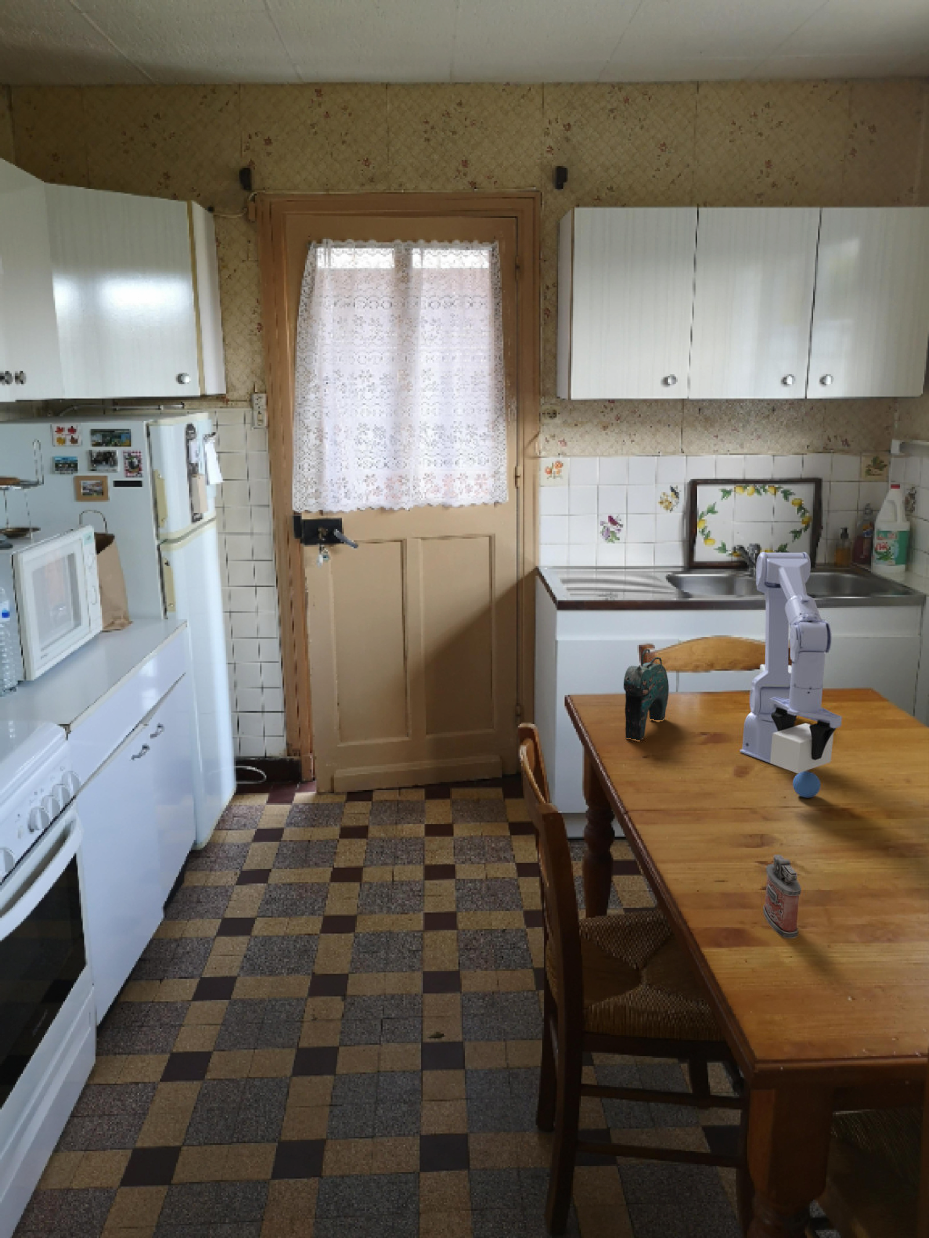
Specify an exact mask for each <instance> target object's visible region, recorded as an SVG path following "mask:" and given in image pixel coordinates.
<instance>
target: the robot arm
mask: <svg viewBox="0 0 929 1238" xmlns="http://www.w3.org/2000/svg"><path fill="white" fill-rule="evenodd" d="M755 567H756V571H755V581H756V582H755V585H756V590H757V591H759V592H760V593H763V596H764V600H765V644H764V645H765V647H764V649H765V651H764V653H765V654H764V655H765V657H764V658H765V659H764V664H765V671H763V672H762V673H761V674H760V673H759V674H758V675H756V676H755V677H754V678H753V679H752V681H751V684H750V691H749V708H750V713H748V714H747V716H746V718H745V720H744V723H743V733H742V735H743V736H742V748H741V749H739V752H740V753H742V754H744V755H747V756H750V757H752V758H755V759H757V760H760V761H763V762H766V763H768V764H771V763H770V758H771V746H772V733H775V732H778V731H782V730H785V729H788V728H791V727H795V724H796V719H797V716H799V717H802V718H804V719H808V720H811V721H815V722H816V723H813V724H810V726H809V728H810V731H811V737H812V751H811V756H812V759H813V760H817V759H820V758H821V757H822V754H823V751H824V749H825V746H826V744H827V742H828V740H829V738H830V737H831V735H832V734H833V735H834V732H835V731H836V729H838V728H841V727H842V718H843V717H842V715H838V714H836V713H833V712H832V711H830V710H828V709H826V708H824V707H822V699H823V687H824V677H825V676H824V674H825V665H826V664H825V663H826V662H825V661H826V654H828V653H829V652H830V650H831V646H832V637H833V636H832V629H831V626H830V623H829V622H828V621H827V620H826V619H825V618H824V619H823V618H821V615H820V612H819V610H818V606H817V603H816V601H815V599H814V598H813V597H812V596H810V595H808V593H807V587H806V583H807V582H808V580H809V579H810V575H811V568H812V567H811V558H810V556H809V554H808V553H807V552H805V551H802V552H765V551H761V552H760V553H759V554H758V556H757V559H756V565H755ZM789 629H790V631H789ZM789 648H790V651H789ZM789 652H790V653H789ZM789 656H790V660H791V666H792V669H791V674H790V673H789V672H788V665H789ZM764 685H789V686H790V687H767V686H764Z"/></svg>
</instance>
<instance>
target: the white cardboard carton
mask: <svg viewBox="0 0 929 1238" xmlns="http://www.w3.org/2000/svg"><path fill="white" fill-rule="evenodd" d="M810 725H811V724H809V723H806V722H805V723H802V724H798V725H794V727H791V728H788V729H785V730H782V731H778V732H775V733H772V746H771V758H770V763H769V764H771V765H774V766H776V767H779V768H782V769H785V770H788V771H791V772H793V773H796V774H799V773H800V772H805V771H810V770H811V769H814V768H817V767H820V766H823V765H826V764H828V763H831V761H832V752H833V751H832V750H833V742H834V733H833V734H832V735H831V737H830V738H829V740H828V742H827V744H826V746H825V749H824V751H823V754H822V757H821V758H820V759H817V760H813V759H812V756H811V751H812V737H811V731H810V728H809V726H810Z"/></svg>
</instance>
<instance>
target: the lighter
mask: <svg viewBox="0 0 929 1238" xmlns="http://www.w3.org/2000/svg"><path fill="white" fill-rule="evenodd" d="M765 867H766V868H765V869H766V871H765V872H766V885H765V886H766V888H765V900H764V905H763V907H762V908H763V910H762V911H763V912H762V913H763V915H764V918H765V920H766V921H767V923H768V924H769V926H770V927H771V928H772V929H773V931H775V932H776V933H777V934H778V935H779V936H780V937H782V938H785V939H794V938H797V937H798V932H799V929H798V926H797V925H798V915H799V914H798V912H799V900H800V899H799V898H800V895H801V892H802V888H801V884H800V883H799V881H798V880H797V879H798V873H797V872H796V870H794V868H793V867H792V866H791V862H790V859H788V858H784V857H783V855H781V854H774V855H773V863H770V864H768V865H766V866H765Z"/></svg>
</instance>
